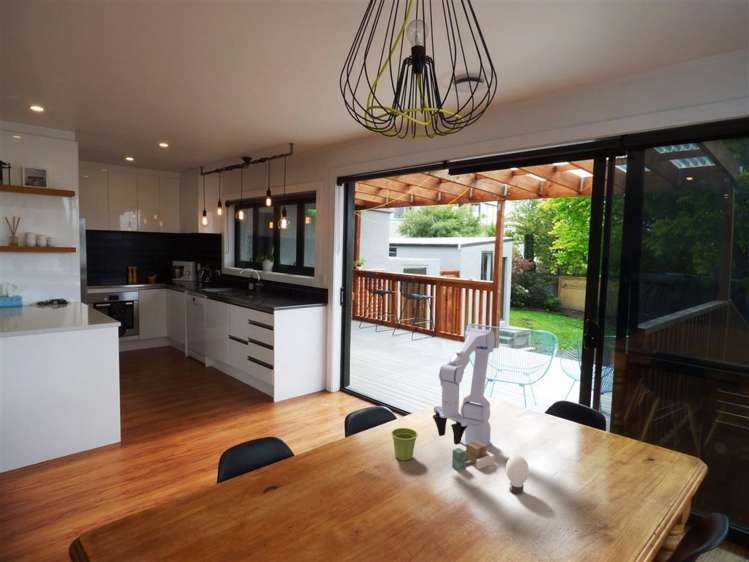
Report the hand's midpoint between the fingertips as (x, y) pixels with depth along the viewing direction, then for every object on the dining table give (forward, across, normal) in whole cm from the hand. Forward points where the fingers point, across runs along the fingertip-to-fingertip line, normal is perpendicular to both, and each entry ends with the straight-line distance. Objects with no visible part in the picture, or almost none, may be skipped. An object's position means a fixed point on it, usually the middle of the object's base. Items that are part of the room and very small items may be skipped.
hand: (449, 439), depth 149 cm
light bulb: (+10, +22, +8) cm, 25 cm away
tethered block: (+9, +2, +7) cm, 12 cm away
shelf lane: (+10, +2, +11) cm, 15 cm away
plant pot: (+10, -14, -9) cm, 19 cm away
